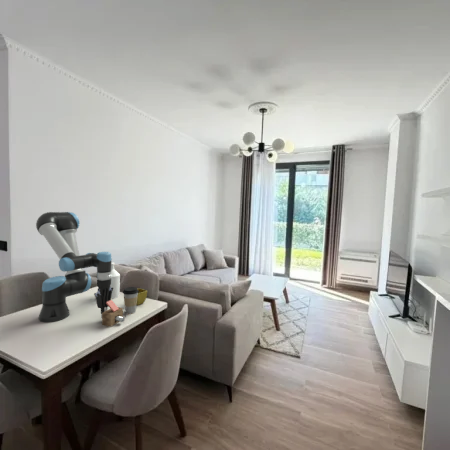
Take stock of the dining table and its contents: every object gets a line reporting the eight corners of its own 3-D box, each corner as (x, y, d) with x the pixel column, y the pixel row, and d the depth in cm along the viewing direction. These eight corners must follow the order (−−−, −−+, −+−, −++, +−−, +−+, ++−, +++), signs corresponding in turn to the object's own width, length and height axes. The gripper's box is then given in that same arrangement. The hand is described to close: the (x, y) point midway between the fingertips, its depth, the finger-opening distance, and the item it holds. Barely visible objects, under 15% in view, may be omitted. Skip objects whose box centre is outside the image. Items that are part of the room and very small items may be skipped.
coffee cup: (133, 315, 159) (133, 292, 158) (119, 313, 160) (119, 290, 160) (141, 309, 168) (141, 287, 167) (128, 308, 170) (128, 286, 169)
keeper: (105, 303, 147) (106, 302, 147) (110, 300, 151) (111, 299, 151) (113, 312, 146) (114, 311, 146) (118, 309, 150) (119, 308, 150)
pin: (103, 321, 148) (103, 314, 148) (109, 318, 152) (109, 311, 152) (120, 325, 145) (120, 317, 145) (125, 321, 149) (125, 314, 149)
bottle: (100, 299, 184) (100, 265, 182) (104, 293, 196) (104, 261, 194) (118, 298, 186) (118, 264, 185) (121, 293, 198) (121, 261, 196)
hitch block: (102, 325, 145) (102, 312, 145) (114, 317, 155) (114, 306, 154) (110, 326, 143) (110, 314, 143) (122, 319, 153) (122, 308, 152)
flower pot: (147, 303, 180) (147, 290, 179) (137, 306, 173) (137, 293, 172) (139, 300, 185) (139, 288, 184) (129, 303, 177) (129, 291, 177)
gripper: (101, 282, 142) (100, 323, 143) (117, 276, 154) (116, 314, 156) (90, 280, 144) (90, 321, 145) (106, 275, 156) (106, 312, 158)
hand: (103, 318), depth 151 cm, fingers closed
